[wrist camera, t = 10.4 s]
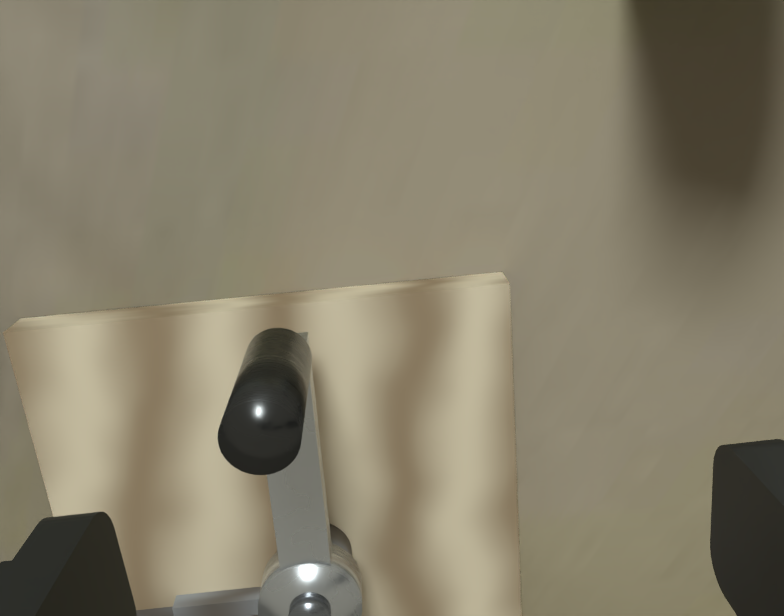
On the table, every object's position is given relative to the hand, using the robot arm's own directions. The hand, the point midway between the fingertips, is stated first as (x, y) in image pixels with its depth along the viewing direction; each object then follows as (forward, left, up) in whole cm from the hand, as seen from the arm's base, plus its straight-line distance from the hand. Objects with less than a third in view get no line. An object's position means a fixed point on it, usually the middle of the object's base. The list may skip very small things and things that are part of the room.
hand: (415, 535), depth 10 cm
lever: (+5, +15, -24) cm, 29 cm away
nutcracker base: (+6, +16, -27) cm, 32 cm away
